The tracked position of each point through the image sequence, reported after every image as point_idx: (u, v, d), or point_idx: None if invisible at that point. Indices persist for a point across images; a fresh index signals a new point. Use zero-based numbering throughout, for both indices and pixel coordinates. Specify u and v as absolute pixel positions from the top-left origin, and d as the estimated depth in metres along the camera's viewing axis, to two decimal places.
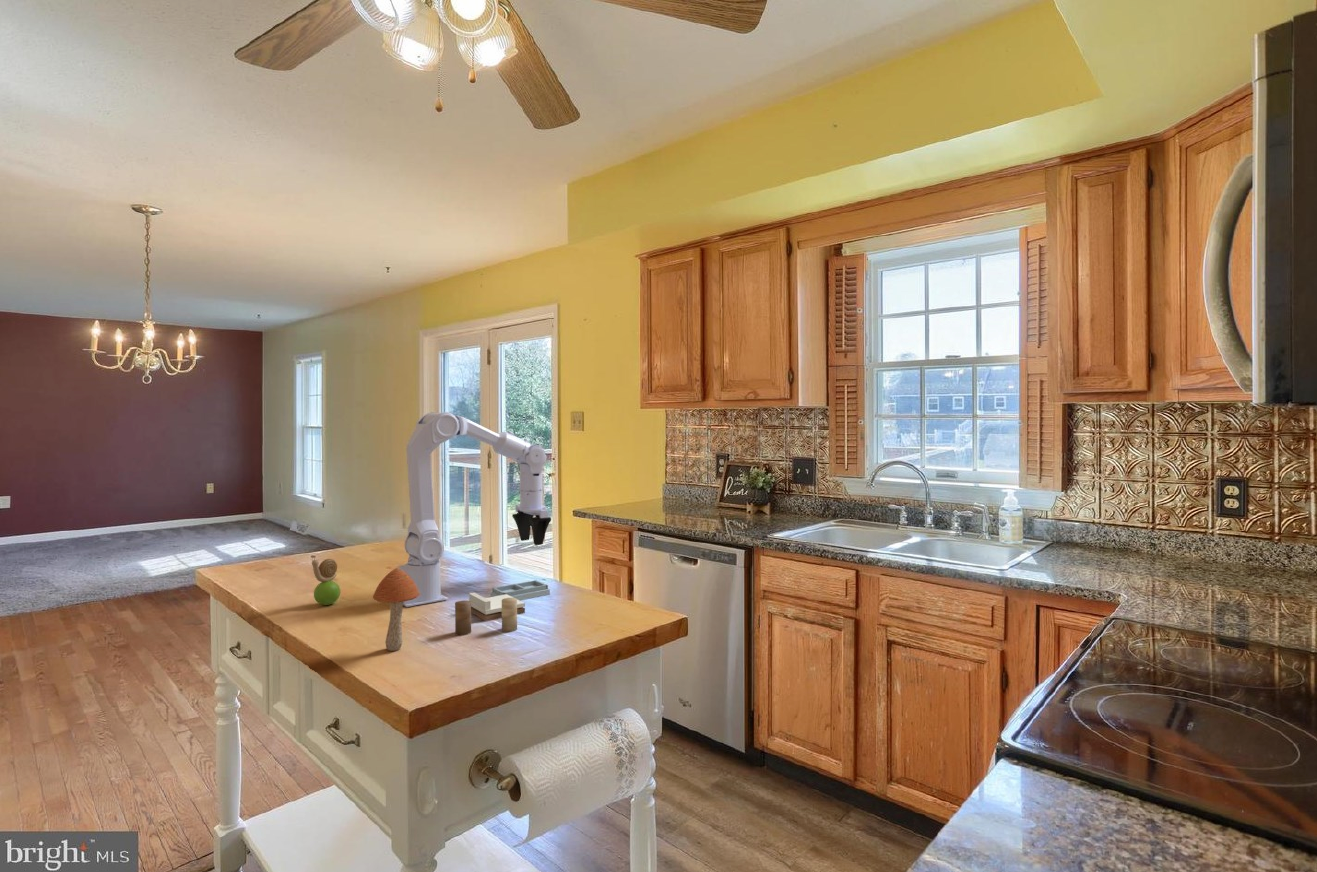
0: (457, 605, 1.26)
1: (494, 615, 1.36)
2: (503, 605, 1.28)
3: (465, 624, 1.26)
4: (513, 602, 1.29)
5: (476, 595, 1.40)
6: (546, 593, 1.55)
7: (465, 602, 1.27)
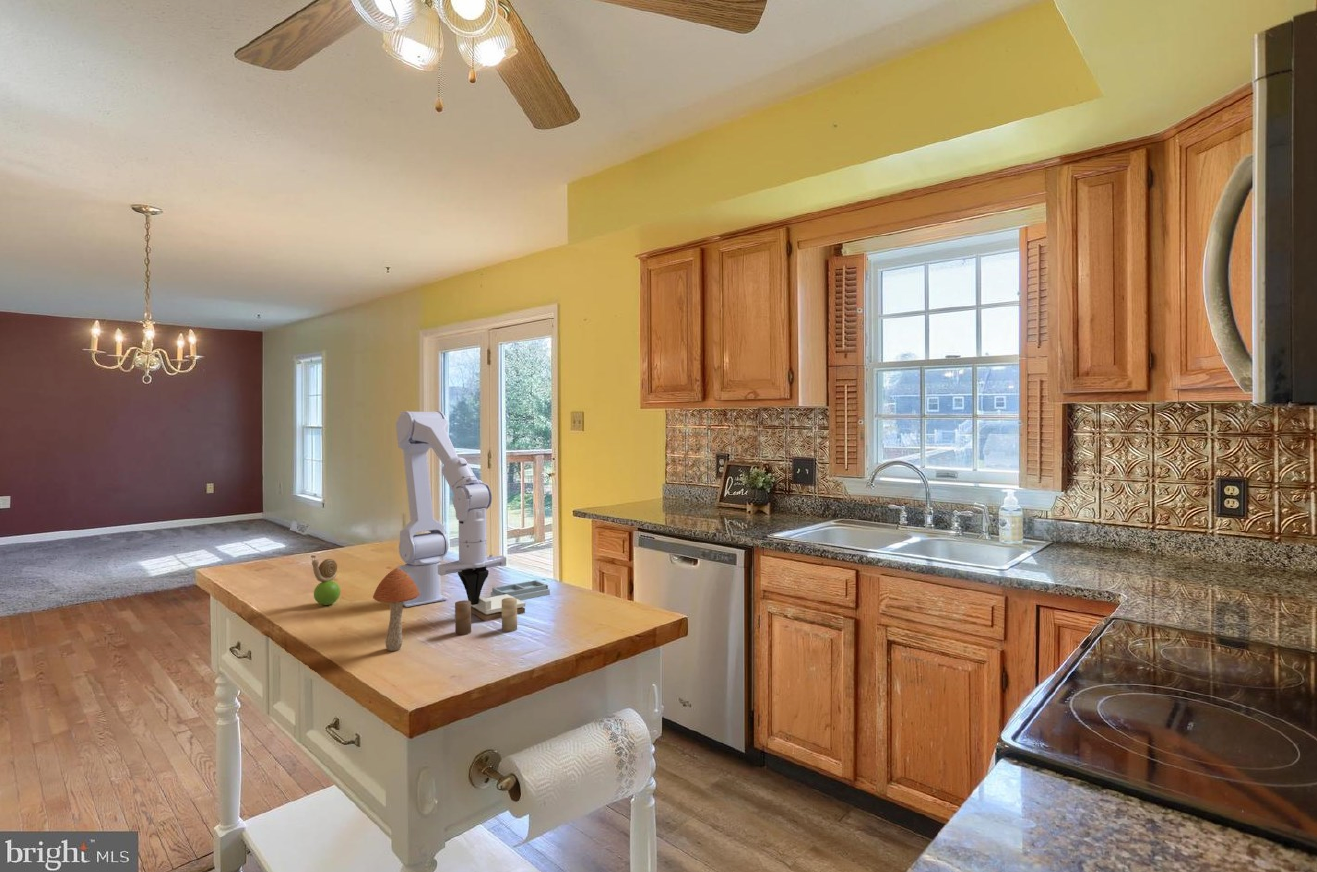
0: (457, 605, 1.26)
1: (494, 615, 1.36)
2: (503, 605, 1.28)
3: (465, 624, 1.26)
4: (513, 602, 1.29)
5: None
6: (546, 593, 1.55)
7: (465, 602, 1.27)
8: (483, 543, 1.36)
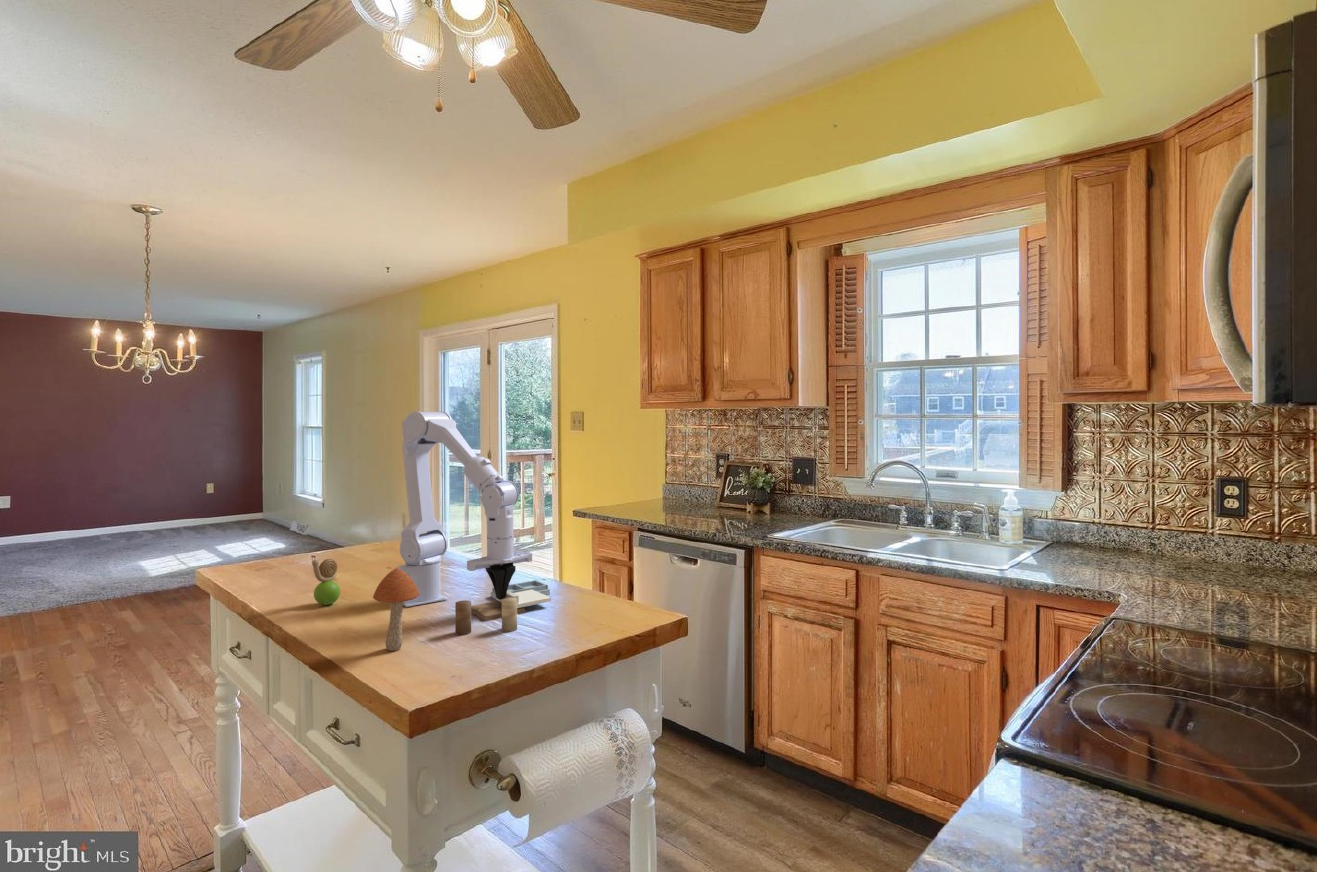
0: (457, 605, 1.26)
1: (494, 615, 1.36)
2: (503, 605, 1.28)
3: (465, 624, 1.26)
4: (513, 602, 1.29)
5: None
6: (546, 593, 1.55)
7: (465, 602, 1.27)
8: (510, 539, 1.40)
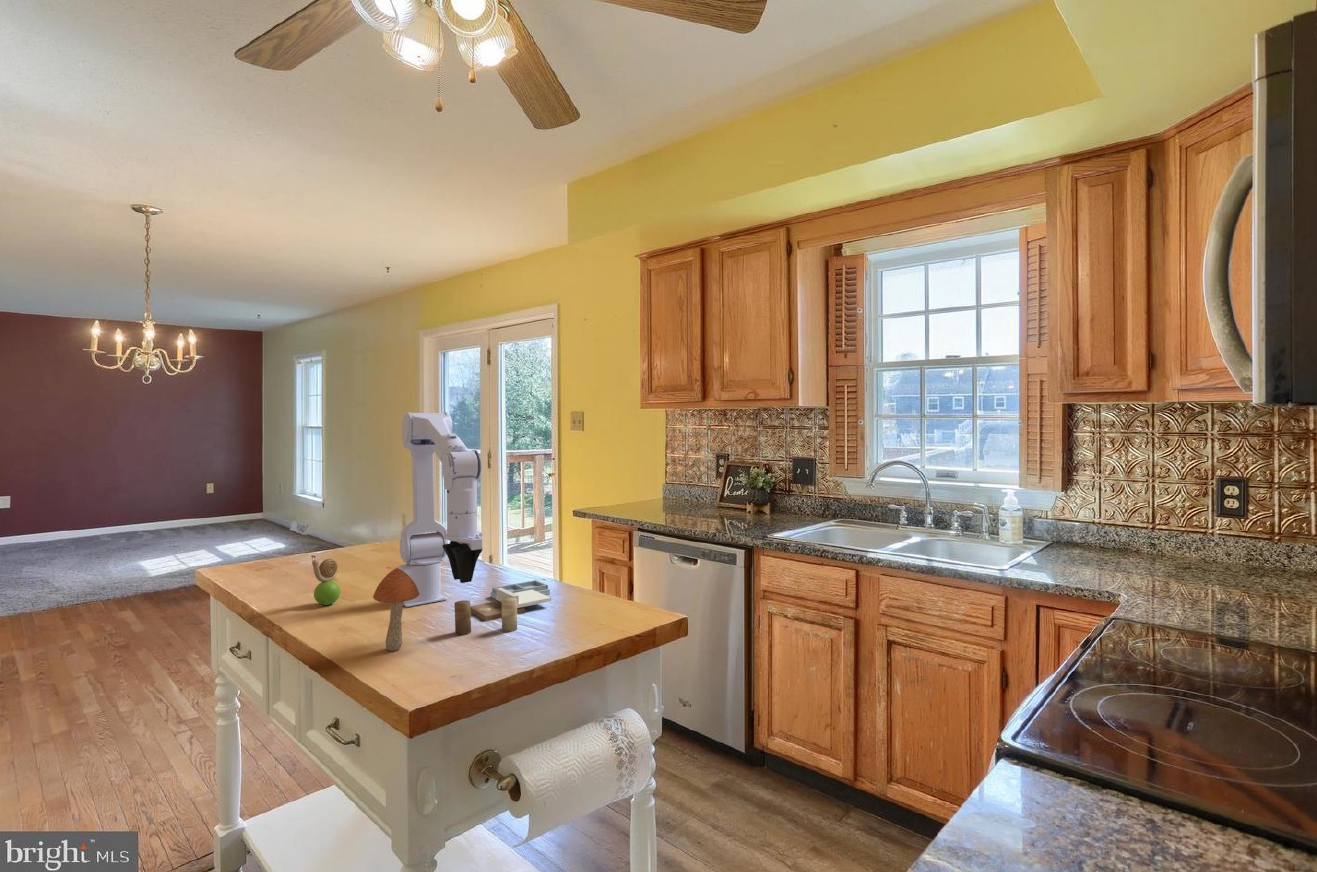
0: (457, 605, 1.26)
1: (494, 615, 1.36)
2: (503, 605, 1.28)
3: (465, 624, 1.26)
4: (513, 602, 1.29)
5: (504, 590, 1.44)
6: (546, 593, 1.55)
7: (464, 602, 1.27)
8: None
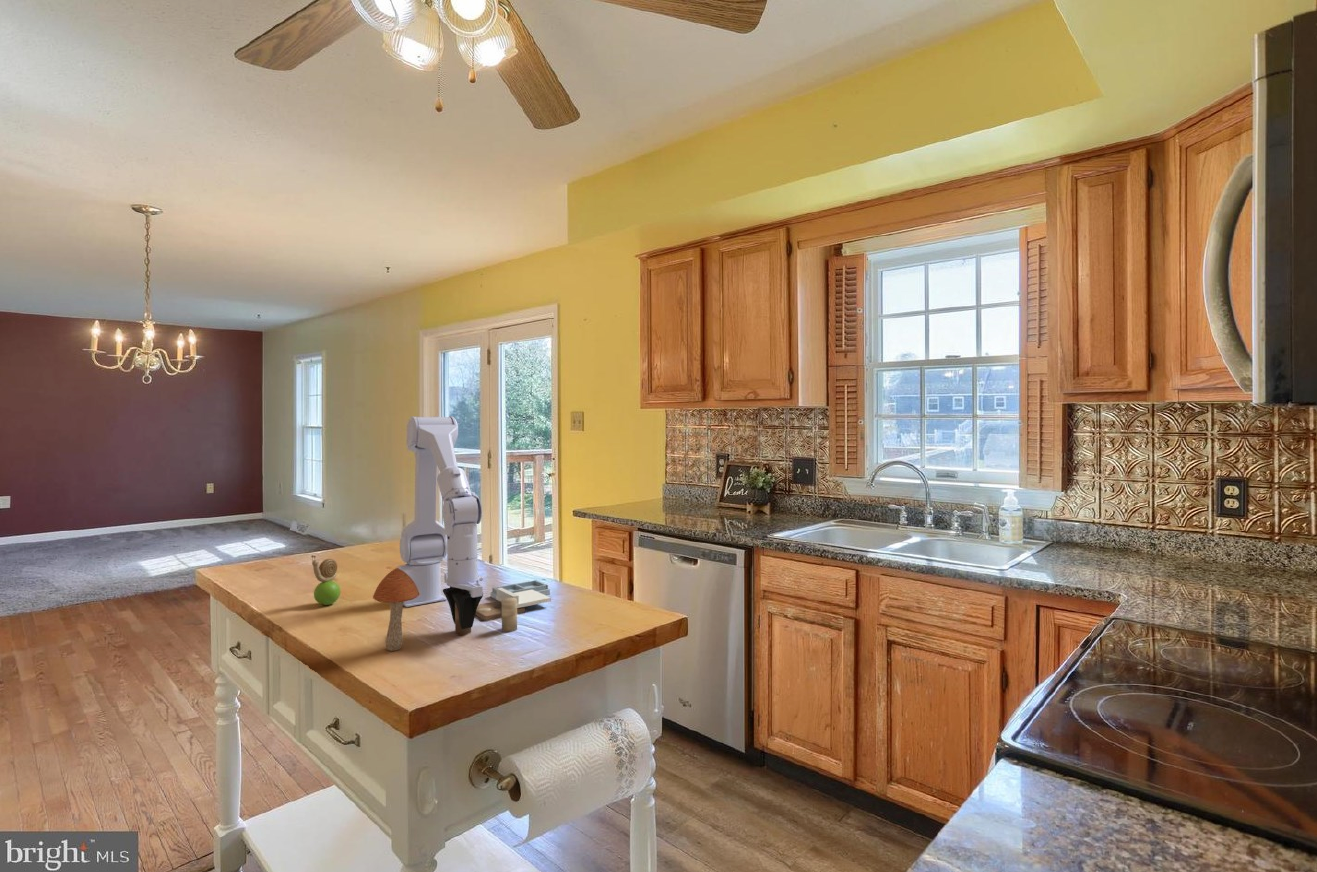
0: None
1: (494, 615, 1.36)
2: (503, 605, 1.28)
3: None
4: (513, 602, 1.29)
5: (504, 590, 1.44)
6: (546, 593, 1.55)
7: None
8: None
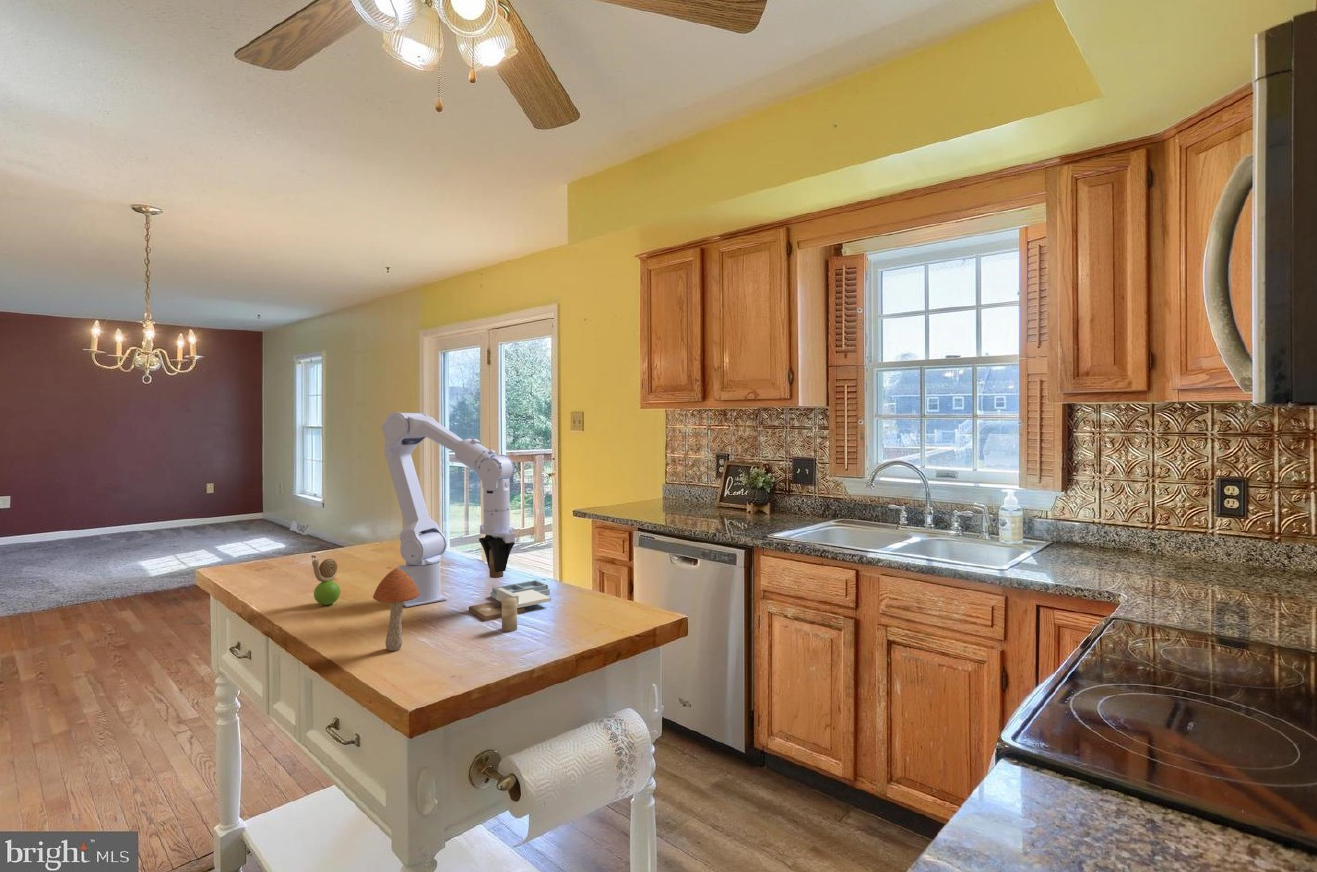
0: None
1: (494, 615, 1.36)
2: (503, 605, 1.28)
3: None
4: (513, 602, 1.29)
5: (504, 590, 1.44)
6: (546, 593, 1.55)
7: None
8: None
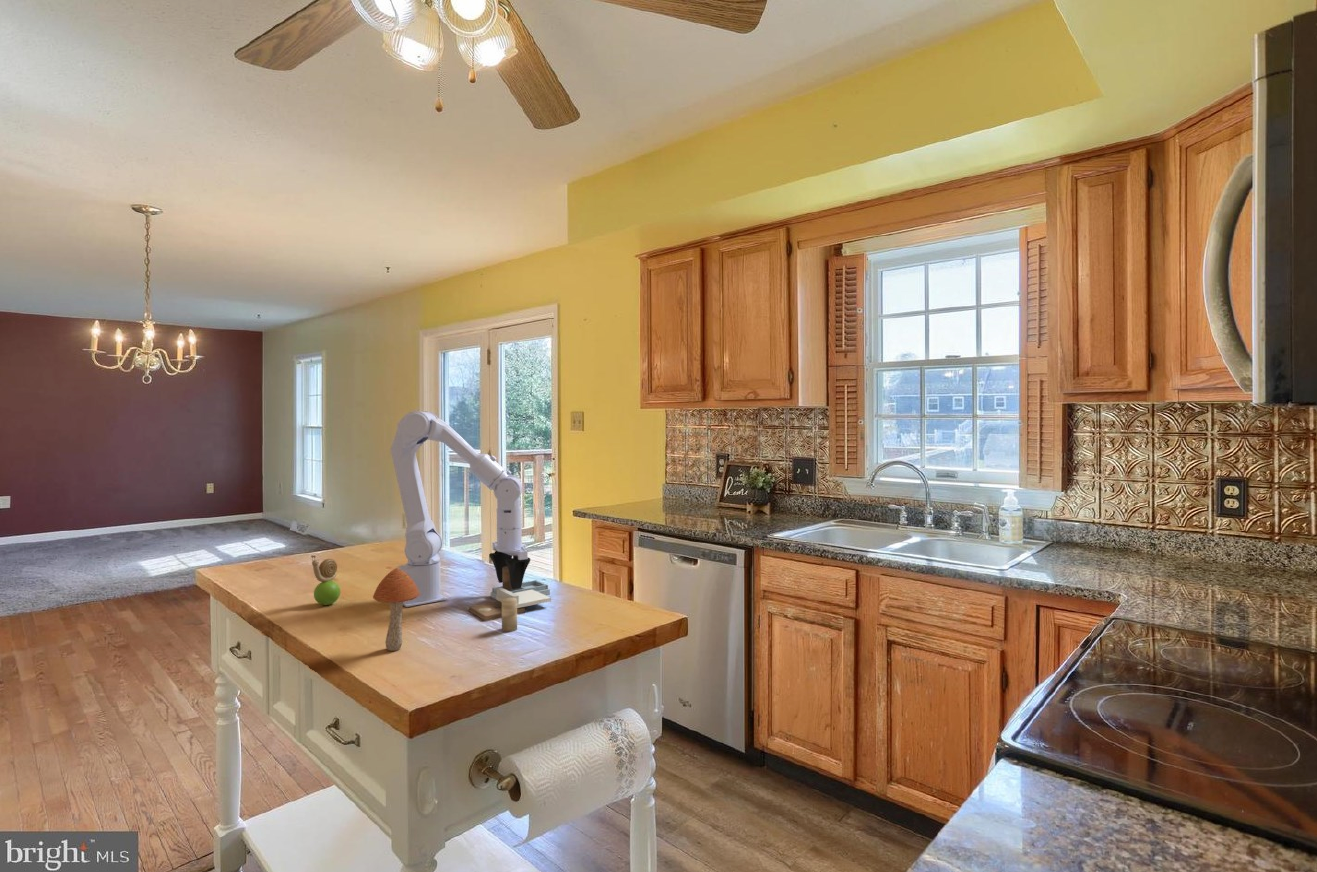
0: (505, 569, 1.51)
1: (494, 615, 1.36)
2: (503, 605, 1.28)
3: None
4: (513, 602, 1.29)
5: (504, 590, 1.44)
6: (546, 593, 1.55)
7: None
8: None
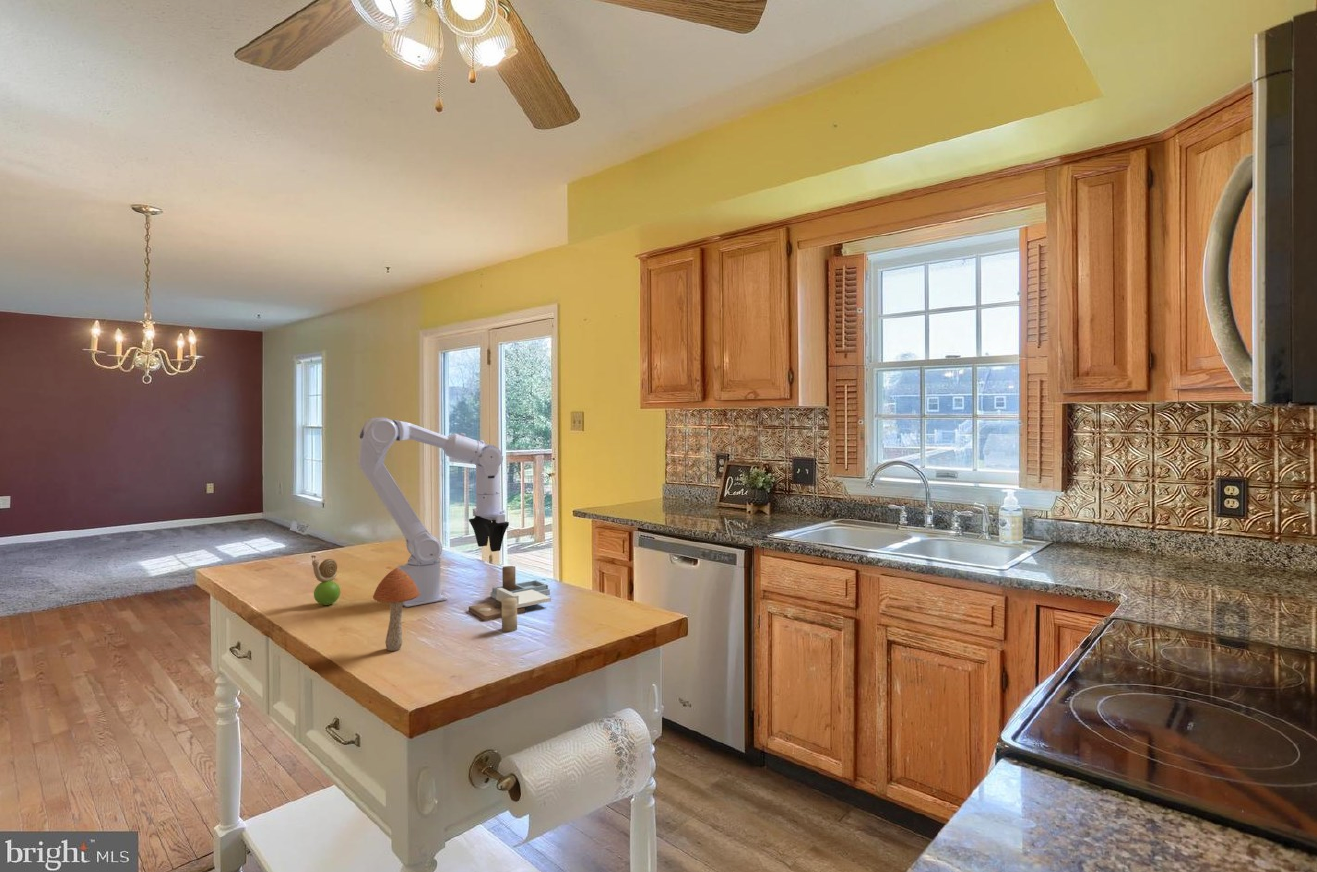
0: (505, 569, 1.51)
1: (494, 615, 1.36)
2: (503, 605, 1.28)
3: (512, 585, 1.51)
4: (513, 602, 1.29)
5: (504, 590, 1.44)
6: (546, 593, 1.55)
7: (511, 567, 1.52)
8: None
